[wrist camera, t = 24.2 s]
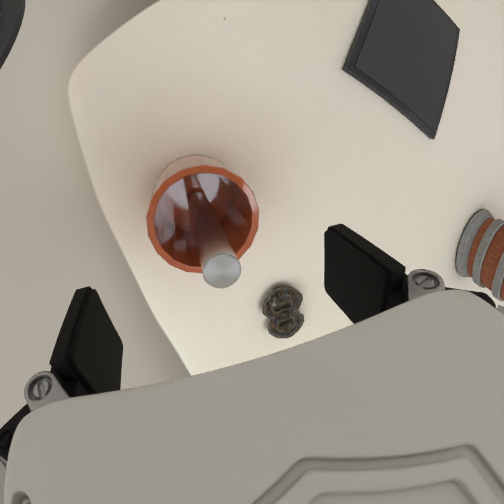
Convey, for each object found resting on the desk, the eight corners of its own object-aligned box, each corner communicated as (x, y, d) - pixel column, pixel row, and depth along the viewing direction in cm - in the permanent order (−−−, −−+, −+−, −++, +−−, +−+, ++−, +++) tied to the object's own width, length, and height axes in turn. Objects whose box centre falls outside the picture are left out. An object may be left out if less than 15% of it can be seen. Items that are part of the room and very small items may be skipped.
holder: (145, 222, 25) (135, 259, 18) (169, 144, 23) (167, 149, 16) (219, 242, 28) (235, 283, 21) (246, 169, 26) (275, 186, 19)
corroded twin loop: (268, 339, 35) (270, 344, 34) (256, 290, 32) (258, 295, 31) (304, 326, 36) (307, 330, 35) (297, 276, 32) (300, 281, 31)
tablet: (342, 69, 24) (346, 68, 23) (383, -39, 17) (387, -41, 16) (429, 138, 30) (434, 139, 29) (456, 29, 23) (460, 29, 22)
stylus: (184, 205, 25) (197, 284, 13) (190, 187, 25) (210, 249, 12) (203, 210, 26) (233, 291, 14) (209, 192, 25) (247, 259, 13)
